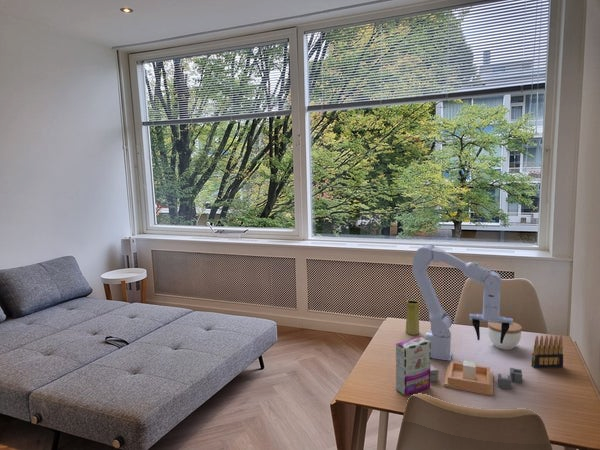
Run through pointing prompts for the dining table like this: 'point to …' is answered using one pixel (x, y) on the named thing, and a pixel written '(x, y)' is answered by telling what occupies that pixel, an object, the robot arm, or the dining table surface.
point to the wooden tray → (480, 384)
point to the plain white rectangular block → (469, 370)
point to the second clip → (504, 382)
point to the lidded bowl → (510, 337)
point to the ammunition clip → (548, 353)
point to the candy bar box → (413, 365)
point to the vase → (412, 317)
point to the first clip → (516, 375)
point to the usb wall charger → (433, 373)
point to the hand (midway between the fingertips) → (489, 340)
